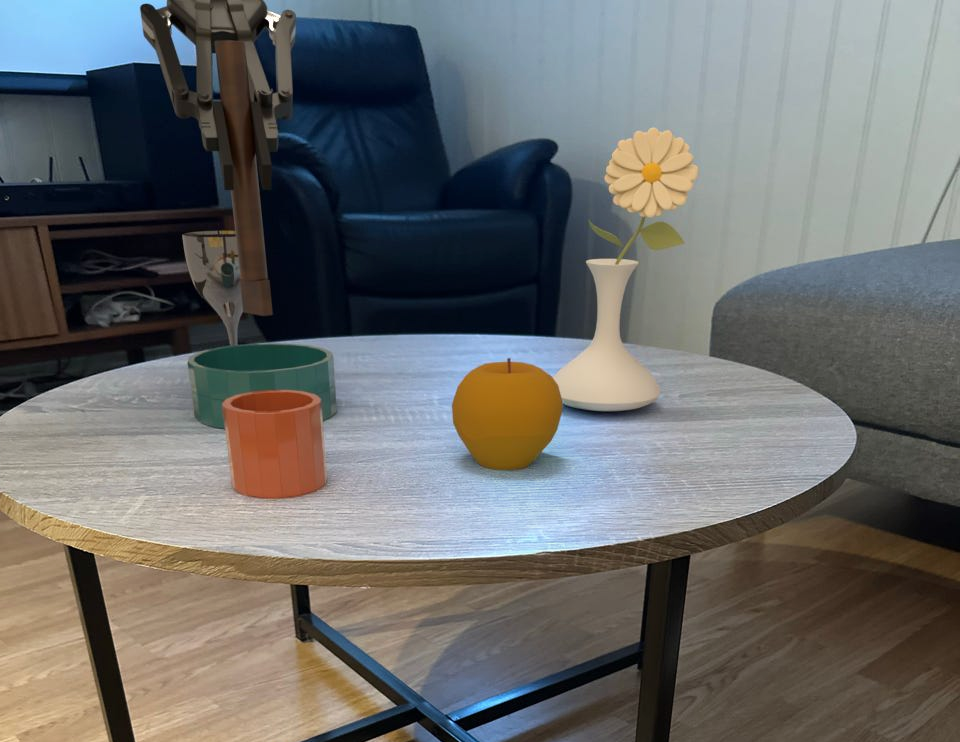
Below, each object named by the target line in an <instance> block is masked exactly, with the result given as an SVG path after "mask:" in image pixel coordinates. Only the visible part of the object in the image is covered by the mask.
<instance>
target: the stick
mask: <svg viewBox="0 0 960 742" xmlns="http://www.w3.org/2000/svg"><path fill="white" fill-rule="evenodd" d="M214 43H215V52H216V53H215V58H216V59H215V61H216V69H217V79H218V88H219V96H220V101H222V105H223V111H224V117H225V123H226V128H227V134H228V140H229V145H230V151H231V157H232V162H233V179H234V190H230V197H231V202H232V203H231V205H232V213H233V214H232V215H233V221H234V222H233V223H234V231H235V233H236V242H237V251H238V260H239V269H240V287H241V296H242V305H243V313H246V314H249V315H250V314H251V315H254V316H255V315H256V316H261V317H267V316H273V315H274V313H273V303H272V292H271V282H270V279H269V276H268V268H267V267H268V266H267V255H266V245H265V244H266V243H265V235H264V225H263V216H262V215H263V214H262V204H261V203H262V202H261V195H260V194H261V193H260V185H259V182H260V181H259V171H258V164H257V158H256V153H255V143H254V133H253V122H252V112H251V102H252V101H251V98H250V90H249V80H248V70H247V60H246V49H245V42H242V41H215V42H214Z"/></svg>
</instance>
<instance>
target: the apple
mask: <svg viewBox="0 0 960 742" xmlns="http://www.w3.org/2000/svg"><path fill="white" fill-rule="evenodd" d="M506 360H507V361H496V362H495V361H494V362H485V363H483V364H481V365H478V366H477V367H475V368H473V369H471V370H470V371H469V372H468V373H467V374H466V375H465V376H464V377H463V378H462V380H461V381H460V383H459V384H458V386H457V388H456V390H455V394H454V396H453V399H452V403H451V412H452V413H451V415H452V424H453V426H454V428H455V431H456V433H457V436H458V437H459V439H460V440H461V442H462V443H463V445H464V446H465V447H466V449H467V451H468V452H469V454H470V455H471V457H473V459H474V460H475V461H476V462H477V464H478V465H479V466H481V467H483V468H485V469H490V470H496V471H515V470H523V469H526V468H528V467H529V466H531V464H532V463H533V462H534V461H535V460H536V459H537V458H538V457H539V456H540V454H541V453H542V452H543V451H544V450H545V449H546V448H547V447H548V445H549V444H550V443H551V442H552V440H553V439H554V437H555V435H556V433H557V431H558V429H559V426H560V421H561V418H562V414H563V411H564V408H563V405H564V404H563V403H562V398H561V394H560V390H559V386H558V385H557V383H556V382H555V380H554V379H553V376H552V375H551V374H549V373H548V372H546V371H545V370H544V369H542V368H541V367H539V366H537V365H534V364H531V363H528V362H522V361H511V357H507V359H506Z"/></svg>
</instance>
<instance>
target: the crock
mask: <svg viewBox="0 0 960 742" xmlns="http://www.w3.org/2000/svg"><path fill="white" fill-rule="evenodd" d="M222 409H223V417H224V425H225V429H224V433H225V439H226V447H227V449H226V450H227V457H228V464H229V473H230V481H231V487H232V488H233V490H234V491H235V492H236V493H238V494H240V495H242V496H246V497H250V498H255V499H268V500H269V499H270V500H271V499H272V500H274V499H276V500H277V499H289V498H296V497H301V496H302V497H303V496H306V495H308V494H312V493H315V492H317V491H319V490H321V489H322V488H324V487H325V486H326V484H327V480H328V474H327V473H328V472H327V458H326V447H325V445H326V444H325V432H324V421H323V417H322V404H321V398H320V397H318V396H317V395H315V394H312V393H308V392H304V391H294V390H265V391H254V392H248V393H243V394H238V395H235V396H232V397H230V398H227V399H225V401H224V402H223V403H222Z"/></svg>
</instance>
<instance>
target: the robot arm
mask: <svg viewBox="0 0 960 742" xmlns="http://www.w3.org/2000/svg"><path fill="white" fill-rule="evenodd" d="M139 12H140V19H141V27H142V35H143V37H144V38H145V40H146V41H147V42H148V44H149V45H150V46H151V47H152V48H153V50H154V51H155V53H156V56H157V59H158V62H159V65H160V68H161V72H162V75H163V78H164V81H165V84H166V88H167V90H168V93H169V97H170V101H171V103H172V107H173V109H174V113H175V115H176V117H178V118H179V119H182V120H186V119H189V118H190V117H191V118H194V119H196V121H198V127H199V129H200V133H201V140H202V146H203V148H204V149H205V151H206V152H217V154H218V160H219V164H220V171H221V177H222V183H223V184H222V185H223V189H224V191H231V190H234V179H233V162H232V157H231V151H230V145H229V140H228V134H227V128H226V123H225V117H224V111H223V105H222V101H221V100H214V76H213V73H214V71H213V69H214V68H213V67H214V66H213V65H214V64H213V57H214V56H213V54H216V52H215V43H214V42H215V41H242V42H245V49H246V60H247V70H248V80H249V90H250V101H251V112H252V122H253V133H254V143H255V153H256V162H257V170H258V176H259V180H260V185H261V189H262V191H272V179H273V178H272V177H273V174H272V171H273V170H272V169H273V168H272V167H273V164H272V159H271V154H270V153H271V152H278V149H279V134H280V133H279V129H278V124H277V123H278V122H277V120H278V119H280V120H283V121H289V120H291V119H292V118H293V101H294V100H293V99H294V98H293V97H294V96H293V95H294V91H293V89H294V88H293V87H294V86H293V70H292V49H293V47H294V45H295V43H296V30H297V14H296V12H294V11H293V10H291V9H285V10H283V11H282V12H281V14H278V13H275V12H273V11H270V10H269V9H268V5H267V3H266V2H265V1H264V0H166V5H165V6H162V7H160V8H157V9H156V7H155V6H154V5H153V4H151V3H142V4H141V5H140V6H139ZM172 26H173V27H174V28H176V29H177V30H178V31H179V32H180V33H181V34H182V35H183V36H184V37H186V39H188V41H190V42H191V43H192V44H193V45H194V46H195V48H196V49H195V50H196V51H195V52H196V54H195V55H196V57H195V58H196V62H195V63H196V92H195V91H193V90H189V87H188V84H187V81H186V77H185V75H184V71H183V68H182V64H181V62H180V59H179V56H178V53H177V50H176V46H175V44H174V40H173V37H172V35H173V29H172ZM265 29H267V31H268V32H269V33H268V35H269V38H270V40H271V41H272V45H273V46H275V56H274V57H275V79H276V80H275V81H276V92H274V91H273V88H270V86H269V83H268V80H267V77H266V74H265V72H264V69H263V66H262V63H261V59H260V57H259V54H258V51H257V48H256V45H255V42H256V40H257V39H258V38H259V37H260V35H261V34H262V33H263V32H264V30H265Z"/></svg>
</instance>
